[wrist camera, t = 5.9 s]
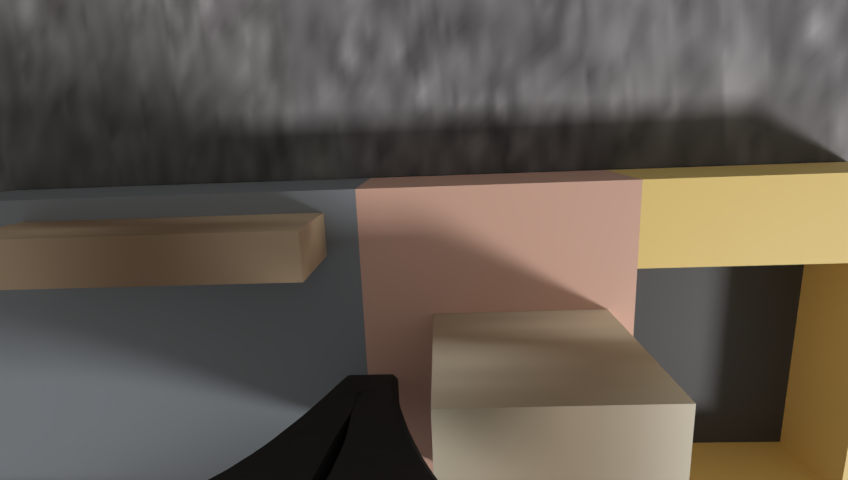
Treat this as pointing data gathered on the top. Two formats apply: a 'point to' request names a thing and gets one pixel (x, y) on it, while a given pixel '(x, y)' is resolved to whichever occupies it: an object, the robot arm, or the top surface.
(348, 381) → the robot arm
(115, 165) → the top surface
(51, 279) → the channel walls
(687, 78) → the top surface
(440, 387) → the birch block
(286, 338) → the board
